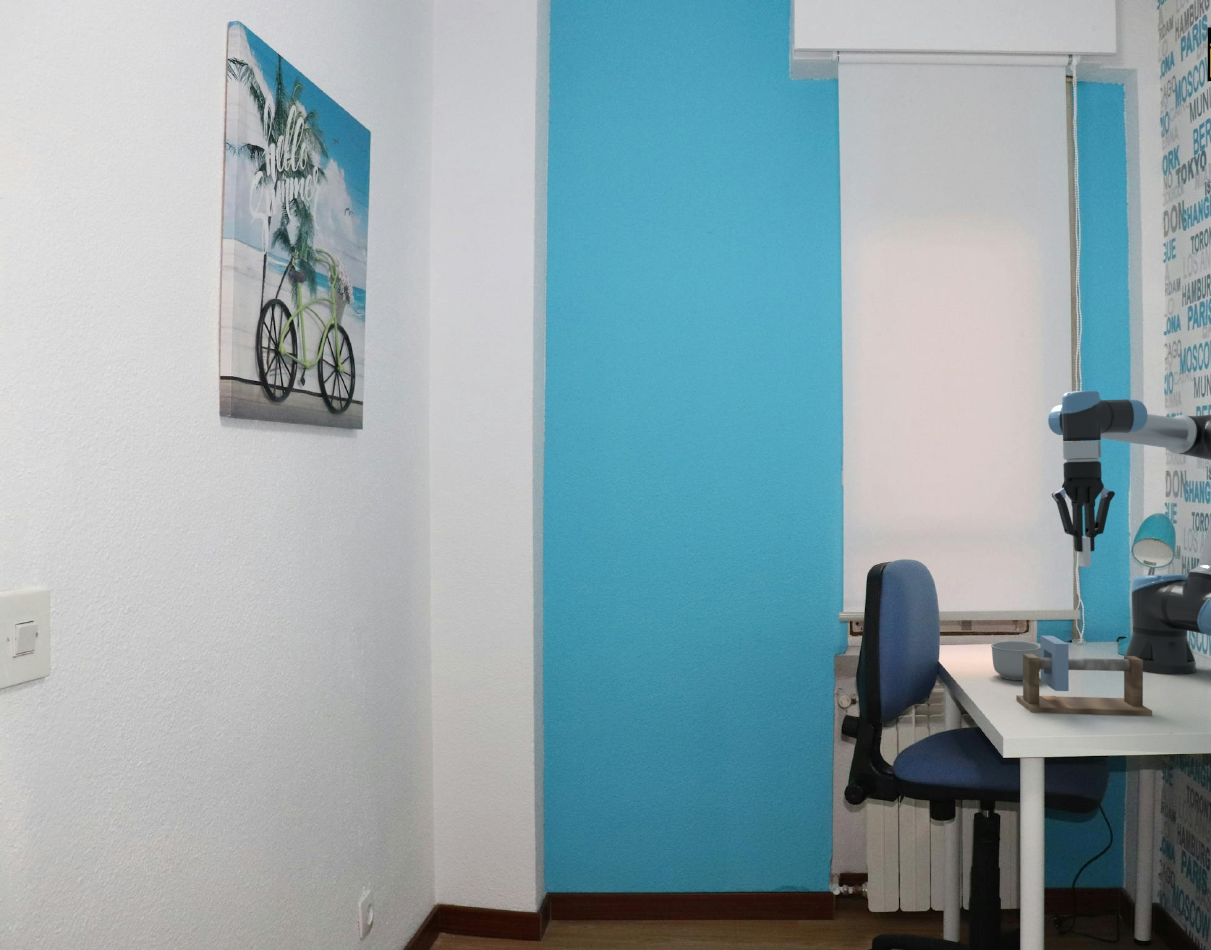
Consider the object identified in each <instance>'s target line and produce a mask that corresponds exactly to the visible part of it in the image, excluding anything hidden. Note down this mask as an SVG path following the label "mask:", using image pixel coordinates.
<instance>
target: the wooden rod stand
mask: <svg viewBox="0 0 1211 950" xmlns="http://www.w3.org/2000/svg"><path fill="white" fill-rule="evenodd" d="M1039 669H1040V670H1041V669H1050V670H1052V657H1050V658H1038V657H1037V656H1035V655H1033V654H1023V680H1022V695H1016V697H1015V700H1016V701H1017V702H1018V703H1019V704H1021V706H1023V707H1024V708H1025V709H1026V710H1028V711H1029V712H1030V713H1037V714H1038V713H1040V714H1041V713H1043V714H1044V713H1045V714H1073V715H1074V714H1075V715H1076V714H1077V715H1078V714H1079V715H1080V714H1081V715H1111V716H1112V715H1114V716H1115V715H1119V716H1149V717H1150V716H1151V717H1152V716H1153V710H1151V709H1150V708H1148V707H1146V706H1145V705H1144V671H1143V660H1141V659H1139V658H1137V657H1135V656H1125V655H1124V656H1123V658H1086V657H1084V658H1080V657H1078V658H1077V657H1075V658H1073V657H1068V671H1099V672H1100V671H1105V672H1106V671H1107V672H1123V697H1095V696H1094V697H1091V696H1090V697H1089V696H1088V697H1087V696H1085V697H1084V696H1056V695H1040V672H1039Z"/></svg>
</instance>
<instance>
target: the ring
mask: <svg viewBox="0 0 1211 950" xmlns="http://www.w3.org/2000/svg"><path fill="white" fill-rule="evenodd" d="M1039 645H1040V658H1050V657H1052V670H1050V669H1040V681H1041V682H1042V683H1043V684H1045V685H1046V686H1048V687H1049V688H1051V690H1054V691H1055V692H1069V691H1070V690H1069V687H1070V685H1069V683H1070V682H1069V670H1068V658H1069V643H1068V642H1065V641H1063V640H1061V639H1059V638H1058V637H1056V636H1054V635H1040V644H1039Z"/></svg>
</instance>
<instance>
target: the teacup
mask: <svg viewBox="0 0 1211 950" xmlns="http://www.w3.org/2000/svg"><path fill="white" fill-rule="evenodd" d="M990 646H991V655H992V656H991V657H992V664H993V665H992V666H993V668H994V670H995V672H996V673H997V674H999V675H1000V676H1001V678H1003V679H1006V680H1010V681H1023V654H1033V655H1035V656H1037V657H1038V658H1040V644H1039V643H1036V642H1032V641H1025V640H1005V639H1001V640H1000V641H996V642H993V643H991V645H990ZM1039 673H1041V669H1039Z"/></svg>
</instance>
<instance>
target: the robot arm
mask: <svg viewBox="0 0 1211 950" xmlns="http://www.w3.org/2000/svg"><path fill="white" fill-rule="evenodd" d="M1047 423H1048V426H1049V430H1051V432H1052V433H1054V434H1055V435H1058V436H1062V455H1063V456H1062V458H1063V459H1064V460H1065V461H1064V462H1063V483H1062V484H1061V485H1062V486H1061V488H1060V489H1058V490H1057V491H1056V492H1054V491H1053V492H1052V493H1051V497H1052V498H1053V500H1054V501H1055V503H1056V506H1057V509H1058V513H1059V516H1060V520H1061V523H1062V524H1061V525H1062V527H1063V531H1064V533H1065V534H1066V535H1070V536H1072V537H1073V543H1074V545H1073V546H1074V547H1073V548H1074V552H1077V553H1078V566H1079V567H1082V568H1091V567H1092V556H1091V554H1092V553H1091V552H1095V549H1096V548H1095V547H1096V546H1095V538H1096V537H1097V536H1098V535H1102V534H1104V531H1105V528H1106V527H1105V526H1106V521H1107V518H1108V515H1109V514H1108V513H1109V509H1110V506H1111V505H1110V504H1111V501H1112V500H1113V499H1114V497H1115V495H1116V493H1115V491H1113V490H1109V489H1108V488H1106V487H1105V486H1104V485H1105V484H1104V483H1103V481H1102V472H1103V471H1102V462H1101V461H1100V460H1099V459H1101V458H1102V446H1101V445H1102V444H1101V443H1102V442H1101V440H1102V439H1103V440H1107V441H1108V440H1109V441H1110V440H1111V441H1116V442H1124V443H1131V444H1137V445H1138V444H1139V445H1144V446H1151V447H1157V448H1165V449H1166V450H1167V451H1168V452H1170V453H1173V454H1179V455H1184V456H1189V457H1194V458H1199V459H1205V460H1209V461H1211V414H1204V415H1185V414H1179V415H1175V416H1173V417H1171V416H1164V415H1157V414H1151V413H1148V410H1147V407H1146V406H1145V404H1144V403H1143V402H1142V401H1139V400H1138V399H1129V398H1125V399H1124V398H1122V399H1101V398H1100V392H1099V391H1097V390H1079V391H1078V390H1076V391H1068V392H1065V393H1064V394H1063V395H1062V399H1061V404H1059V405H1056V406H1054V407H1053V408H1052V409H1051V410H1050V411H1049V414H1048V419H1047ZM1099 496H1100V500H1099V504H1098V508H1097V512H1095V511H1096V510H1095V506H1096V499H1098V497H1099ZM1067 497H1068V498H1069V500H1070V501H1071V503H1070V504H1071V507H1072V509H1071V510H1072V511H1071V512H1072V517H1071V515H1070V511H1069V507H1068V503H1067V501H1066V498H1067ZM1083 509H1084V510H1083ZM1083 512H1084V514H1083ZM1095 513H1096V514H1095ZM1083 515H1084V517H1083ZM1083 518H1084V521H1083ZM1083 523H1084V524H1083ZM1084 535H1085V536H1084ZM1203 541H1204V542H1203V545H1202V550H1201V553H1200V556H1199V560H1198V565H1197V566H1196V567H1194V568H1192V569H1190V570H1189V571H1188V573H1187V575H1186V574H1184V573H1183V574H1182V573H1180V574H1179V573H1177V574H1173V573H1172V574H1150V575H1147V574H1146V575H1137V576H1136V577H1135V578H1134V579H1133V580H1132V590H1131V608H1132V610H1131V611H1132V613H1131V614H1132V615H1131V616H1132V617H1131V618H1132V635H1131V638H1130V641H1129V644H1128V646H1127V648H1126V651H1125V654H1124V656H1135V657H1137V658H1139V659H1141V660H1143V672H1150V673H1160V674H1177V675H1179V674H1191V673H1195V672H1196V670H1197V668H1196V666H1197V665H1196V663H1197V662H1196V660H1195V656H1194V654H1193V651H1192V647H1191V645H1190V643H1189V639H1188V632H1193V633H1197V634H1198V633H1199V634H1202V635H1206V636H1209V637H1211V516H1210V517H1209V522H1208V525H1207V530H1206V535H1205V538H1204V540H1203Z"/></svg>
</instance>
